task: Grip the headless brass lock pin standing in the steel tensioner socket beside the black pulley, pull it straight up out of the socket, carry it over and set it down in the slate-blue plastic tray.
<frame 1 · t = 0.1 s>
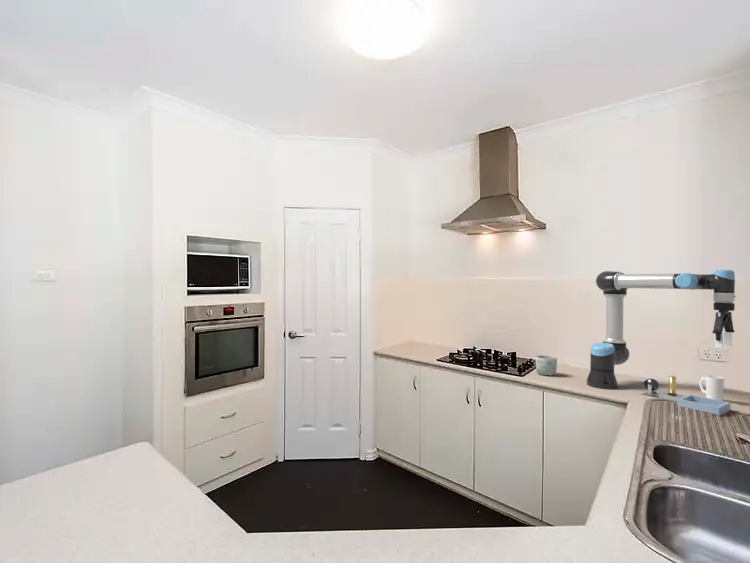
hand: (723, 346, 187), 28 cm above the worktop, fingers open, 13 cm apart
mug: (710, 400, 195), on the worktop
tensioner: (663, 398, 197), on the worktop
planter: (546, 374, 246), on the worktop
lock pin: (672, 398, 194), point 1 cm above the worktop, touching tensioner
tray: (703, 408, 180), on the worktop
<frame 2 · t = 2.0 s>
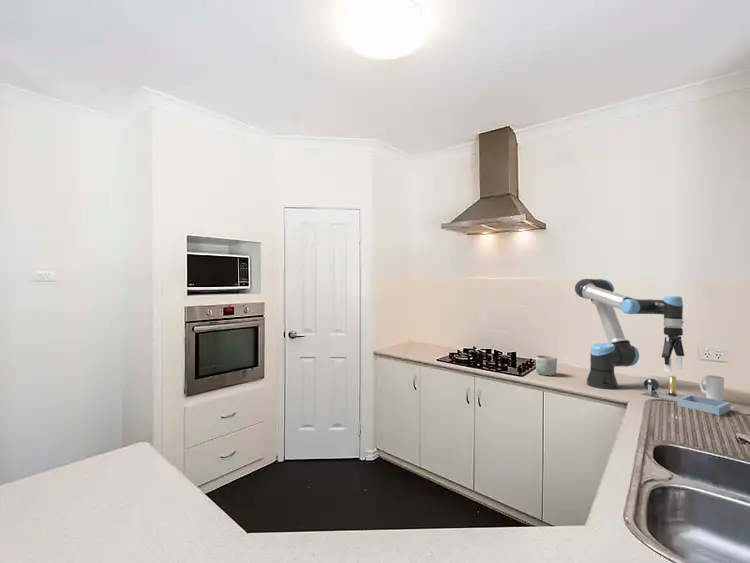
hand: (673, 370, 194), 15 cm above the worktop, fingers open, 13 cm apart
nothing on the worktop moved.
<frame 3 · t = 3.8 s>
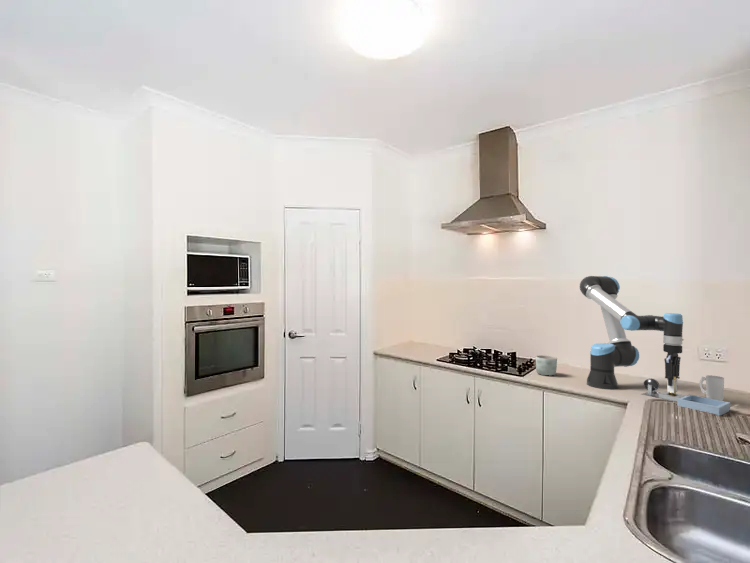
hand: (672, 391, 194), 4 cm above the worktop, fingers closed on lock pin, 3 cm apart
lock pin: (672, 398, 194), point 1 cm above the worktop, touching gripper
everything else where it was.
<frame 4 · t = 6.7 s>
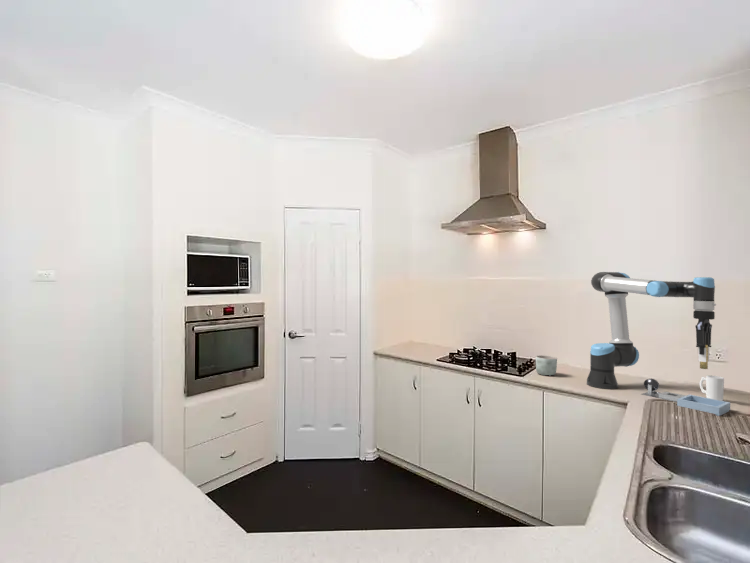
hand: (703, 361, 181), 22 cm above the worktop, fingers closed on lock pin, 3 cm apart
lock pin: (703, 368, 181), point 18 cm above the worktop, touching gripper
everything else where it was.
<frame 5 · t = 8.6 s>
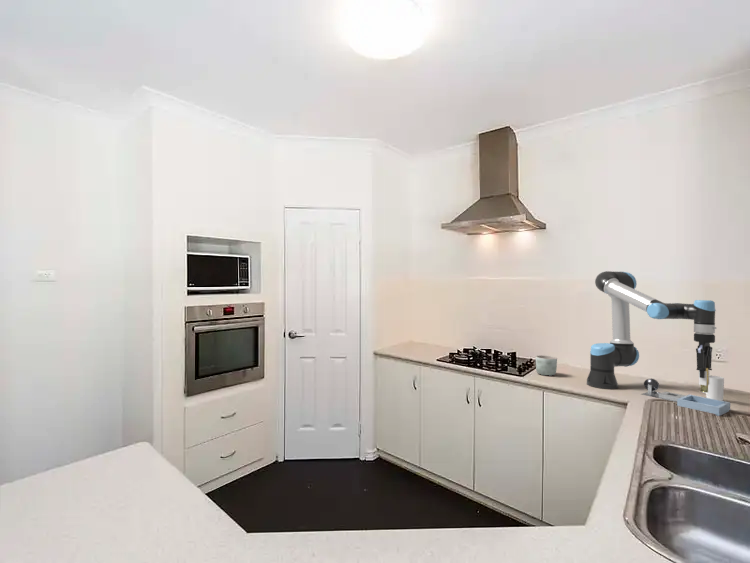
hand: (704, 384, 180), 11 cm above the worktop, fingers closed on lock pin, 3 cm apart
lock pin: (704, 391, 180), point 8 cm above the worktop, touching gripper
everything else where it was.
when the fingers open (5 cm above the worktop, at t = 10.0 s): lock pin stays where it is, resting on tray.
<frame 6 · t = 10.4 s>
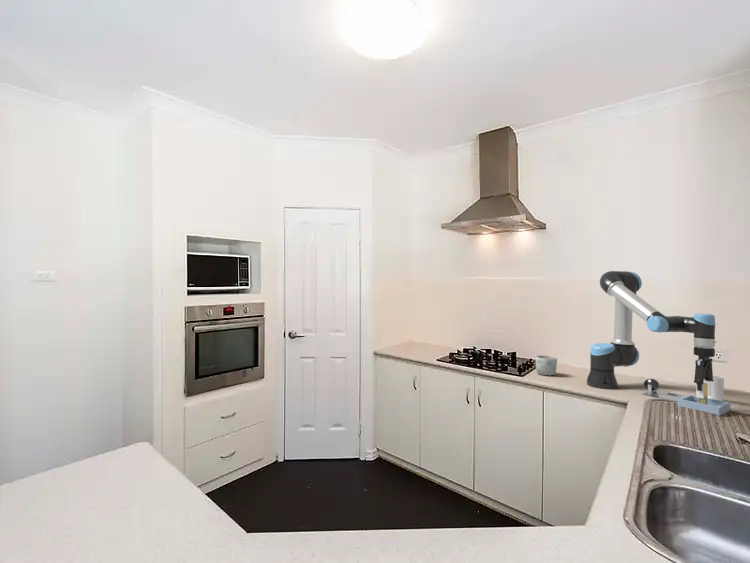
hand: (703, 396, 180), 6 cm above the worktop, fingers open, 8 cm apart
lock pin: (703, 407, 180), point 1 cm above the worktop, touching tray
everything else where it was.
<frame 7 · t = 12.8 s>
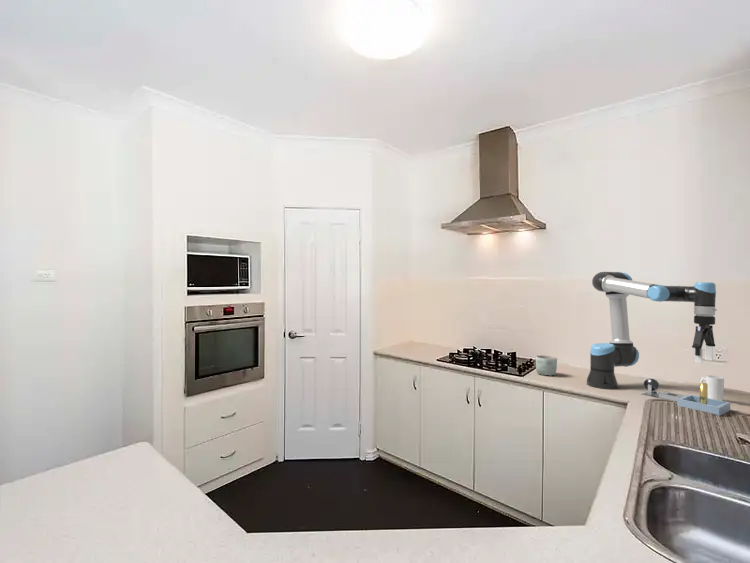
hand: (703, 361, 181), 22 cm above the worktop, fingers open, 13 cm apart
nothing on the worktop moved.
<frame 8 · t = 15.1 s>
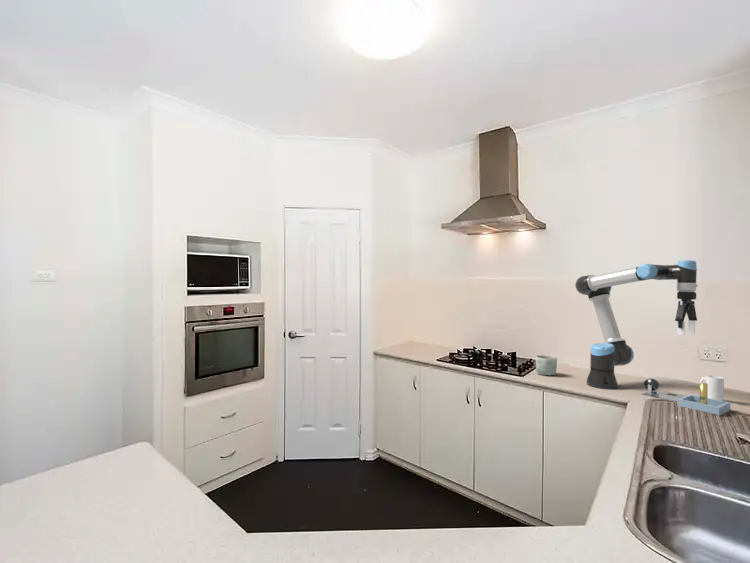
hand: (686, 334, 195), 33 cm above the worktop, fingers open, 13 cm apart
nothing on the worktop moved.
at the end: lock pin inside the target area on the tray (0.0 cm from its centre), point 0.6 cm above the tray's base; the gripper is holding nothing; lock pin touching tray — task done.
